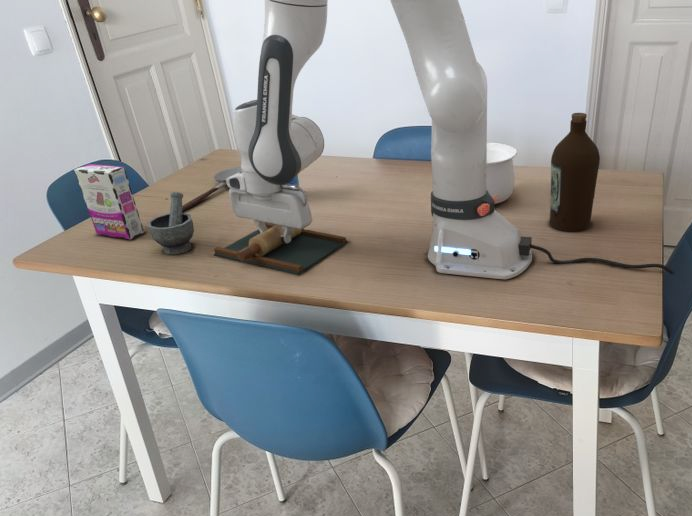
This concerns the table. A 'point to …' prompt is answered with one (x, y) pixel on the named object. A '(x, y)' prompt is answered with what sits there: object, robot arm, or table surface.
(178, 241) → the mortar and pestle
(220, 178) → the spoon
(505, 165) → the pot
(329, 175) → the table surface
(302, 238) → the chalkboard
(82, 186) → the candy bar box
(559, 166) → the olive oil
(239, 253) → the rolling pin
